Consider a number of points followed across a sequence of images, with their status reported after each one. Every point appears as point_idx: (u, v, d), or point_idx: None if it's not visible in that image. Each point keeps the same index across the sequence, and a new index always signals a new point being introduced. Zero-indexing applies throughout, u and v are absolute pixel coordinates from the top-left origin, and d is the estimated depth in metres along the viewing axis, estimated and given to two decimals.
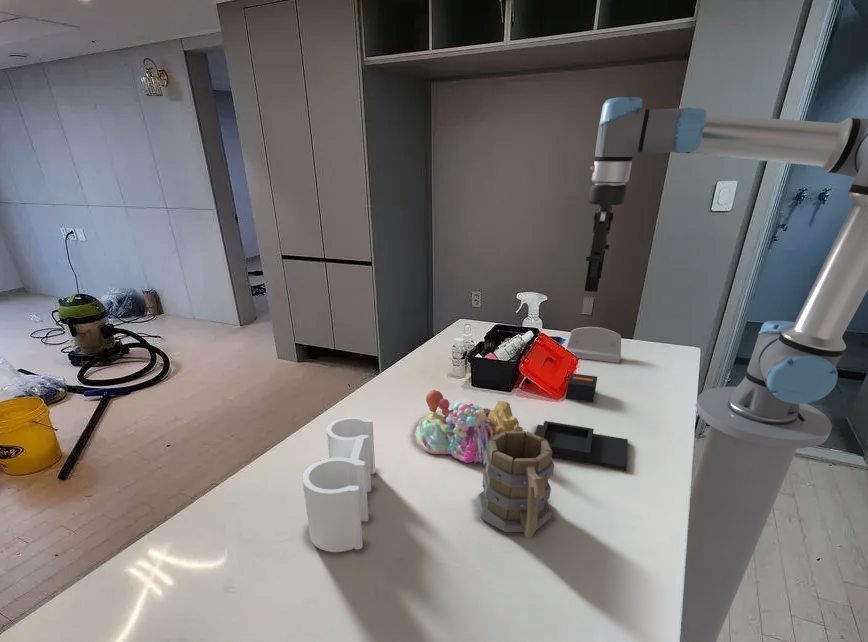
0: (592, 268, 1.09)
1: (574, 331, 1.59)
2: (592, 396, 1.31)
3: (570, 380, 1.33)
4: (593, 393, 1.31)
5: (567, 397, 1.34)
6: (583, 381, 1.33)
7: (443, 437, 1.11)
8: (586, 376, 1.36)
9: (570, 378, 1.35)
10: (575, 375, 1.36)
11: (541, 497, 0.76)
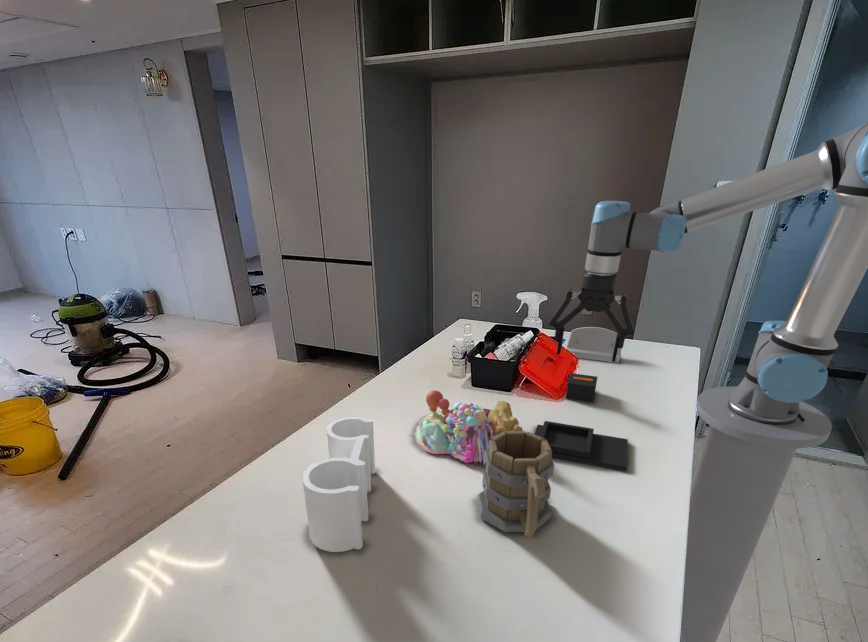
0: (555, 332, 1.31)
1: (574, 331, 1.59)
2: (592, 396, 1.31)
3: (570, 380, 1.33)
4: (593, 393, 1.31)
5: (567, 397, 1.34)
6: (583, 381, 1.33)
7: (443, 437, 1.11)
8: (586, 376, 1.36)
9: (570, 378, 1.35)
10: (575, 375, 1.36)
11: (541, 497, 0.76)
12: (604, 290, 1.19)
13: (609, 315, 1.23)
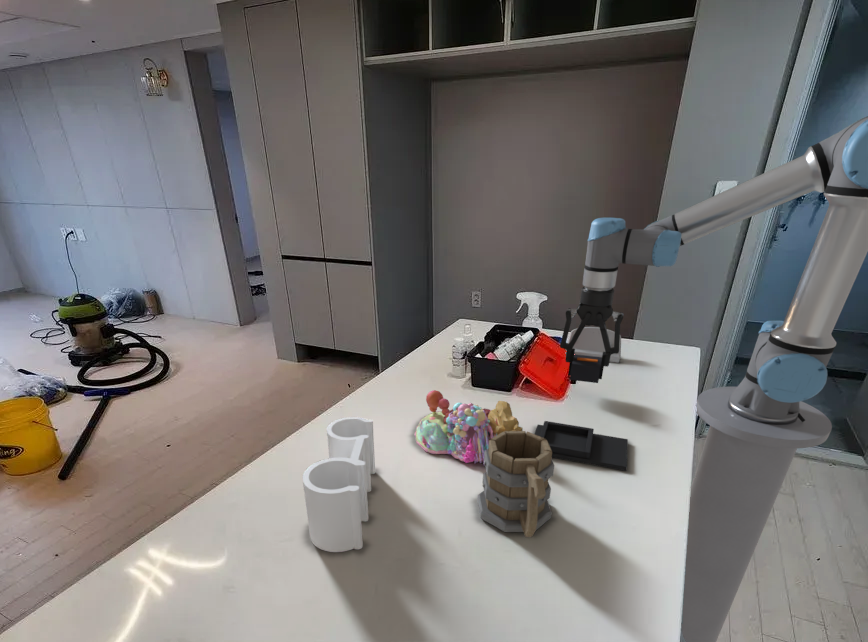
0: None
1: (574, 331, 1.59)
2: (597, 376, 1.29)
3: (574, 361, 1.31)
4: (598, 373, 1.28)
5: (571, 378, 1.31)
6: (587, 361, 1.30)
7: (443, 437, 1.11)
8: (590, 357, 1.33)
9: (574, 359, 1.32)
10: (579, 356, 1.34)
11: (541, 497, 0.76)
12: (602, 305, 1.21)
13: (602, 331, 1.25)
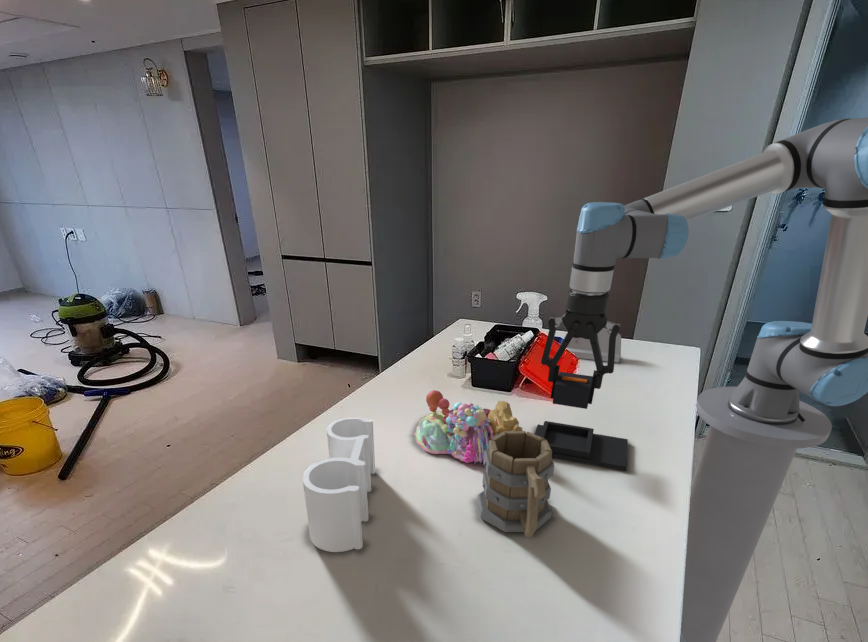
0: None
1: None
2: (586, 401, 1.04)
3: (558, 381, 1.06)
4: (587, 397, 1.03)
5: (554, 402, 1.06)
6: (575, 382, 1.05)
7: (443, 437, 1.11)
8: (579, 376, 1.08)
9: (559, 378, 1.07)
10: (565, 374, 1.09)
11: (541, 497, 0.76)
12: (593, 313, 0.96)
13: (593, 345, 1.00)
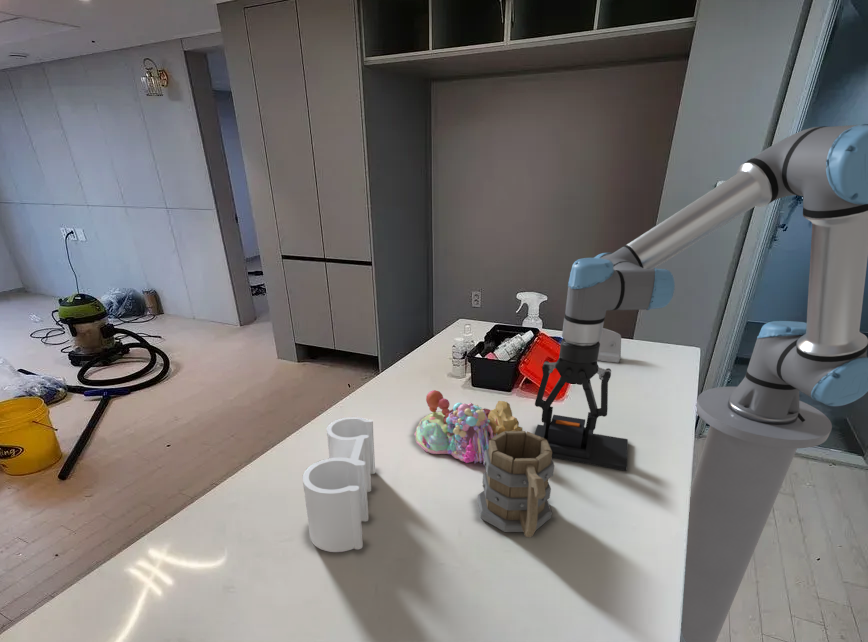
0: None
1: None
2: (578, 445, 1.08)
3: (552, 425, 1.10)
4: (580, 441, 1.08)
5: None
6: (568, 426, 1.10)
7: (443, 437, 1.11)
8: (572, 419, 1.13)
9: (552, 422, 1.12)
10: (559, 417, 1.13)
11: (541, 497, 0.76)
12: (585, 362, 1.00)
13: (586, 390, 1.05)
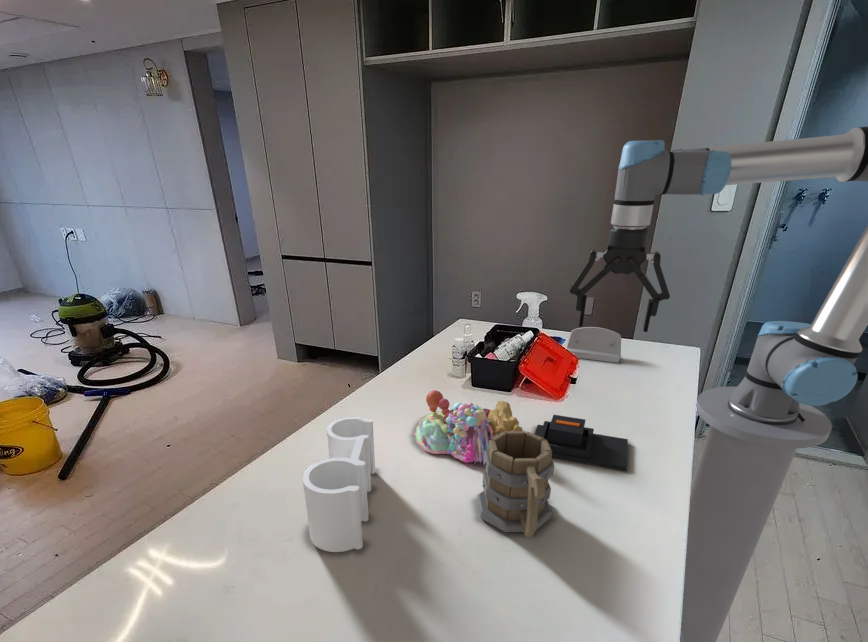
0: None
1: (574, 331, 1.59)
2: (578, 445, 1.08)
3: (552, 425, 1.10)
4: (580, 441, 1.08)
5: None
6: (568, 426, 1.10)
7: (443, 437, 1.11)
8: (572, 419, 1.13)
9: (552, 422, 1.12)
10: (559, 417, 1.13)
11: (541, 497, 0.76)
12: (635, 247, 1.02)
13: (640, 277, 1.06)
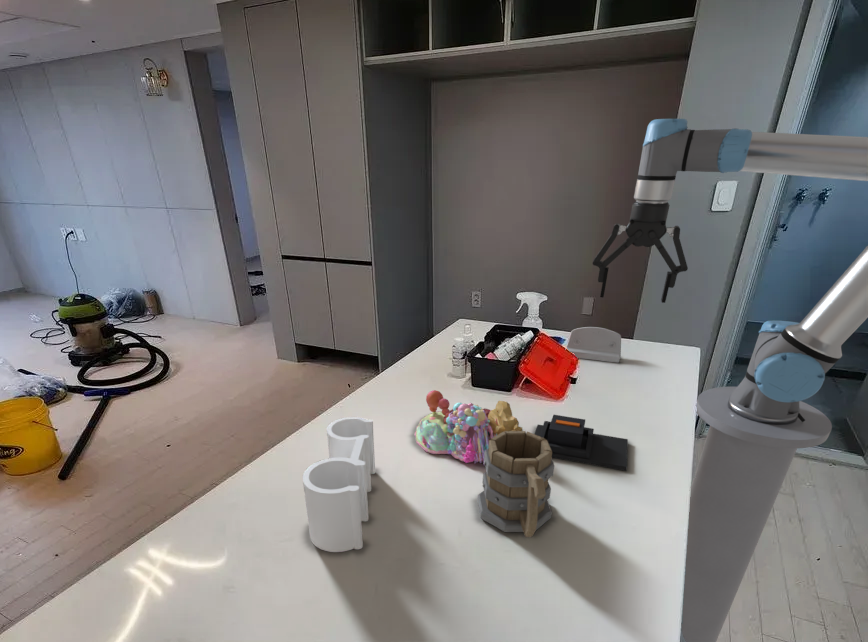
0: (599, 273, 1.21)
1: (574, 331, 1.59)
2: (578, 445, 1.08)
3: (552, 425, 1.10)
4: (580, 441, 1.08)
5: None
6: (568, 426, 1.10)
7: (443, 437, 1.11)
8: (572, 419, 1.13)
9: (552, 422, 1.12)
10: (559, 417, 1.13)
11: (541, 497, 0.76)
12: (656, 220, 1.09)
13: (660, 250, 1.13)
